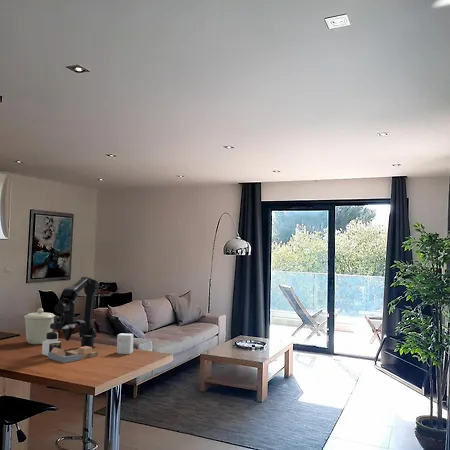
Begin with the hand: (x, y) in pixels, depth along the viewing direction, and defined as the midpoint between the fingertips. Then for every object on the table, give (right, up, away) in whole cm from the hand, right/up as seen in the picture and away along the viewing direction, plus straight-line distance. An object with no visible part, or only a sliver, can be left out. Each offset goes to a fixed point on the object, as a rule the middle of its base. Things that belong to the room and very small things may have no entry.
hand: (67, 340), depth 237 cm
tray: (+1, -8, -6) cm, 10 cm away
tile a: (-3, -4, -4) cm, 6 cm away
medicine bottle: (-10, -9, +3) cm, 14 cm away
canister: (-29, -10, +32) cm, 44 cm away
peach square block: (+10, -7, +1) cm, 12 cm away
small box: (+28, -11, +13) cm, 33 cm away
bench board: (+7, -9, +3) cm, 12 cm away
